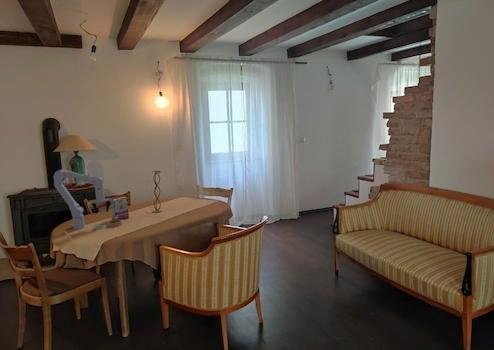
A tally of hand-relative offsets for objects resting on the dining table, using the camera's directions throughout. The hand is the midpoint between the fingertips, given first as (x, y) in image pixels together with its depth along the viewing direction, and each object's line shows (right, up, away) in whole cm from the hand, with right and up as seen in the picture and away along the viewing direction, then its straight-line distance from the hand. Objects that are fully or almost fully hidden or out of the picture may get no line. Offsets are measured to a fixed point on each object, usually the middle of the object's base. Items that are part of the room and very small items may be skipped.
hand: (101, 212), depth 265 cm
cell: (+9, -9, +1) cm, 13 cm away
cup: (+9, -10, +1) cm, 13 cm away
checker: (0, -11, -5) cm, 12 cm away
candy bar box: (+7, -7, +20) cm, 23 cm away
